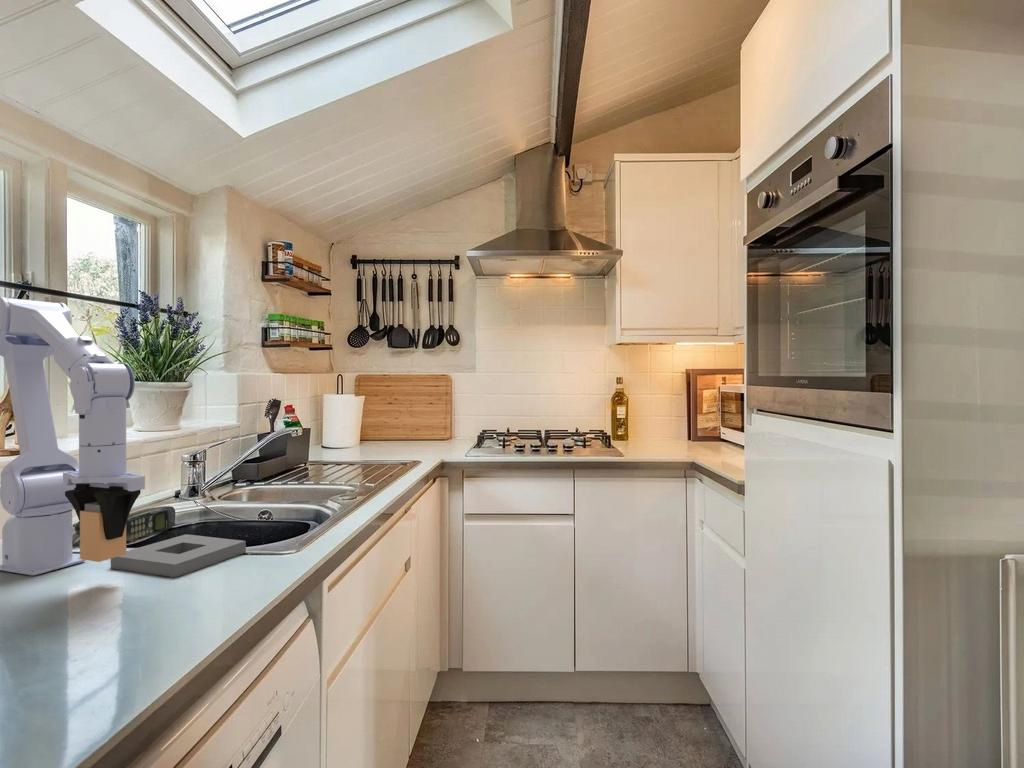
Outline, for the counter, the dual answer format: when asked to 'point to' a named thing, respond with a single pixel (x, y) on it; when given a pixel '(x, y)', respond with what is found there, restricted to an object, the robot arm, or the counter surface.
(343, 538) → the counter surface
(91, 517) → the plug
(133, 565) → the socket plate
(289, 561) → the counter surface
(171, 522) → the mobile phone
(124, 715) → the counter surface
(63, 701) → the counter surface
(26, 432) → the robot arm
